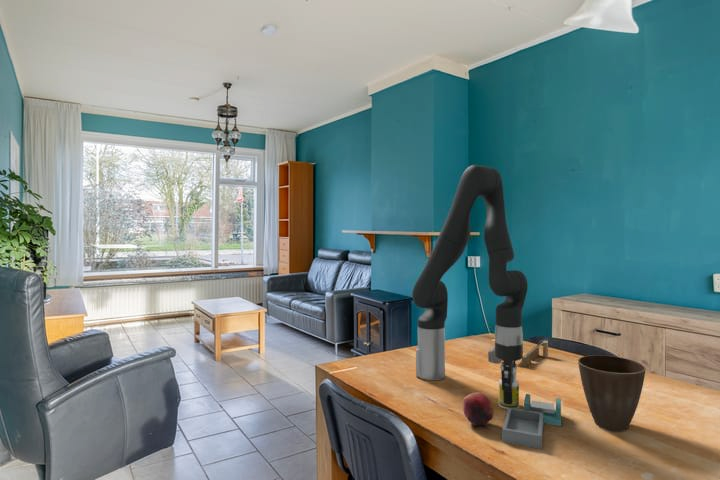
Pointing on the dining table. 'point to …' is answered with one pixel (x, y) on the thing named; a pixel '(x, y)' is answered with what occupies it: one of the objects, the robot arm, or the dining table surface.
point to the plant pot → (611, 389)
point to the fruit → (478, 408)
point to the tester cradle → (547, 417)
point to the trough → (523, 428)
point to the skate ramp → (526, 358)
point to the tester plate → (542, 407)
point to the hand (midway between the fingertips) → (508, 399)
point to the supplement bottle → (514, 395)
